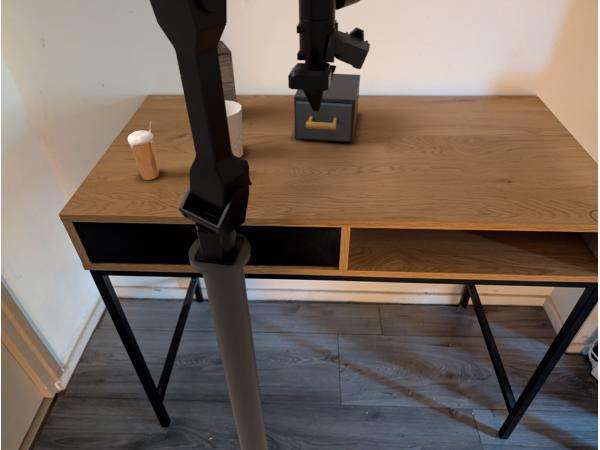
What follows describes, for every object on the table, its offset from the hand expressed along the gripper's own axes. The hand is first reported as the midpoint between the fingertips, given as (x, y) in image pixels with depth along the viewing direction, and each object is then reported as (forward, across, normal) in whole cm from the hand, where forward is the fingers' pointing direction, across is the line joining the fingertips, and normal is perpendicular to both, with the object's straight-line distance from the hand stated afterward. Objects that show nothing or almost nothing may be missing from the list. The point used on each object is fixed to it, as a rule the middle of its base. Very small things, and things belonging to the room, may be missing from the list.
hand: (316, 110), depth 77 cm
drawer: (+11, +15, 0) cm, 19 cm away
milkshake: (+12, -7, +31) cm, 34 cm away
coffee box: (+12, +21, +26) cm, 36 cm away
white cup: (+12, +3, +19) cm, 23 cm away
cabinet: (+12, +19, 0) cm, 22 cm away
